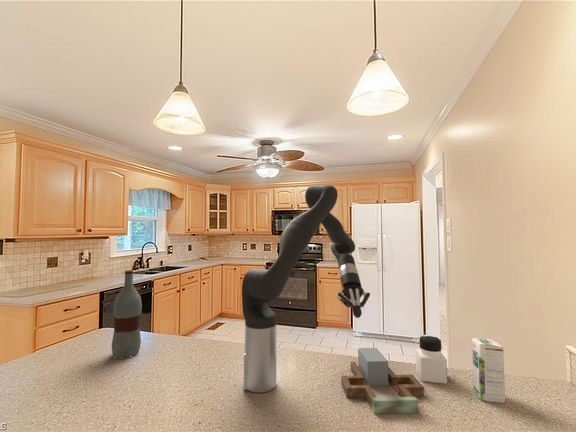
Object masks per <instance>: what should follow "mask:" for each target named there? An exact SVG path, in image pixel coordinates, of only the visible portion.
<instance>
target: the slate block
mask: <svg viewBox="0 0 576 432" xmlns="http://www.w3.org/2000/svg"><path fill="white" fill-rule="evenodd" d="M357 366H358V367H359V369H360V371H361V372H362V374H363V376H364V377H365V385H369V386H370V387H383V386H384V387H385V386H386V387H387V386H389V381H388V367H389V361H388V360H387V358H386V357H385V356H384V355H383V353H382V352H381V351H380V350H379V349H378V348H377V347H358V348H357Z"/></svg>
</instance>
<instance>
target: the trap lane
mask: <svg viewBox="0 0 576 432" xmlns="http://www.w3.org/2000/svg"><path fill="white" fill-rule="evenodd" d="M350 371H351V374H353V375H340V377H341V379H340V385H341V387H342V389H343V392H344V394H345V396H346V398H347V399H359V398H360V399H361V398H365V399H366V401H367V402H368V405H369V407H370V409H371V410H372V413H373V414H374V415H375V414H418V413H419V400H418V398H417V397H419V398H420V397H421V398H422V397H425V387H424V385H423V384H421V382H420V381H419V380H418V379H417V378H416V377H415V376H414V375H413V374H396V373H394V372H393V370H392V369H391V368H390V367H389V366H388V383H390V385H391V387H392V388H393V389H394V390H395V392H396V393H397V394H398V396H390V397H389V396H385V397H383V396H381V397H377V395H376V394H375V391H373V389H372V388H371V387H372V386H369V385H367V384H366V382H365V377H364V376H363V374H362V372H361V371H360V369H359V367H358V363H356V361H350Z"/></svg>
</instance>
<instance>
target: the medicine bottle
mask: <svg viewBox="0 0 576 432" xmlns="http://www.w3.org/2000/svg"><path fill="white" fill-rule="evenodd" d="M447 361H448V360H447V358H446V356H444V354H443V353H442V340H441V339H440V338H438V337H436V336H434V335H429V334H426V335H421V336H419V348H415V368H416V369H415V370H416V373H417V375H418V376H419V379H420V380H421V382H424V383H436V384H445V385H446V384H448V371H447V370H448V365H447Z"/></svg>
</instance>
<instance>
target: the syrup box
mask: <svg viewBox="0 0 576 432" xmlns="http://www.w3.org/2000/svg"><path fill="white" fill-rule="evenodd" d="M471 341H472V342H471V343H472V344H471V345H472V347H471V348H472V352H471V353H472V388H473V389H472V391H474V392H475V395H477V397H478V398H479V400H480V401H482V402H492V403H501V404H502V403H503V404H505V403H506V395H505V394H506V390H505V389H506V388H505V355H504V350H505V349H504V347H503V346H502V345H500V344H499V343H498V342H497V341H495V340H494V339H491V338H483V337H472V339H471Z"/></svg>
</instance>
